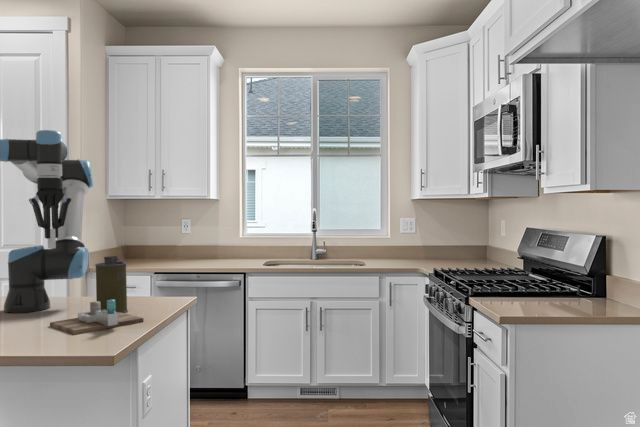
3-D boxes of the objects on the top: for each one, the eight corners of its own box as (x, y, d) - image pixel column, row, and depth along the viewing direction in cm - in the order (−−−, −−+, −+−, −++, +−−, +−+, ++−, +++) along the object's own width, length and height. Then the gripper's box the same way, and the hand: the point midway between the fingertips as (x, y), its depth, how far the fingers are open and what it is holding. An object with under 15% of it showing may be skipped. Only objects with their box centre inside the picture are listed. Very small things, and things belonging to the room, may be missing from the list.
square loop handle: (77, 319, 169) (77, 296, 169) (103, 315, 175) (102, 293, 175) (100, 327, 157) (99, 302, 157) (126, 323, 163) (125, 298, 162)
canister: (116, 315, 182) (115, 257, 182) (89, 314, 185) (88, 257, 184) (134, 309, 193) (132, 254, 193) (108, 309, 195) (107, 254, 195)
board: (49, 326, 167) (49, 303, 167) (116, 314, 184) (116, 294, 184) (74, 334, 155) (74, 310, 155) (143, 321, 172) (143, 299, 172)
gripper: (33, 176, 169) (35, 250, 170) (74, 177, 179) (76, 247, 180) (24, 177, 174) (26, 249, 175) (65, 178, 184) (66, 246, 185)
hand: (51, 248), depth 177 cm, fingers closed
